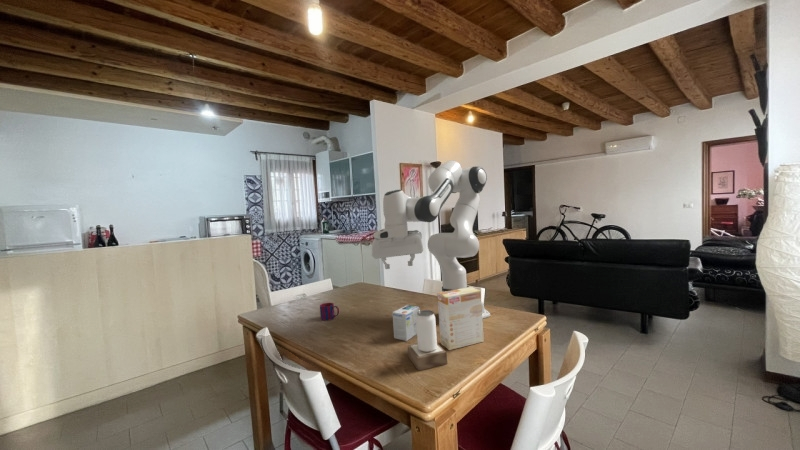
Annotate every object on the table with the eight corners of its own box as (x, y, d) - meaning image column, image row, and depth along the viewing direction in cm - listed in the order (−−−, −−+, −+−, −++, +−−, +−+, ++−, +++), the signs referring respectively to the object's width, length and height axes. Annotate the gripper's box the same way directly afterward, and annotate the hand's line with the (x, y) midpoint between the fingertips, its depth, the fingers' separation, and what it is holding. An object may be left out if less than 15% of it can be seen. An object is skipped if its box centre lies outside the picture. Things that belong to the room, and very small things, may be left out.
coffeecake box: (473, 335, 121) (470, 286, 120) (484, 342, 114) (481, 290, 113) (439, 343, 116) (436, 292, 115) (449, 350, 109) (445, 296, 108)
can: (436, 353, 99) (434, 316, 98) (416, 352, 100) (414, 316, 100) (438, 344, 105) (435, 309, 105) (419, 343, 107) (417, 309, 106)
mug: (327, 315, 157) (326, 302, 156) (342, 317, 152) (341, 303, 152) (317, 319, 151) (316, 306, 151) (333, 322, 146) (332, 308, 146)
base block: (434, 351, 110) (433, 339, 109) (447, 363, 100) (446, 351, 100) (408, 356, 107) (407, 344, 106) (418, 370, 97) (417, 357, 97)
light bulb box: (408, 328, 132) (406, 304, 131) (421, 331, 128) (419, 306, 127) (393, 338, 123) (391, 311, 123) (407, 341, 119) (405, 314, 119)
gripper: (418, 229, 125) (420, 262, 126) (369, 234, 119) (372, 269, 120) (424, 229, 119) (426, 265, 120) (373, 235, 113) (375, 272, 114)
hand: (399, 267), depth 120 cm, fingers open, 8 cm apart
